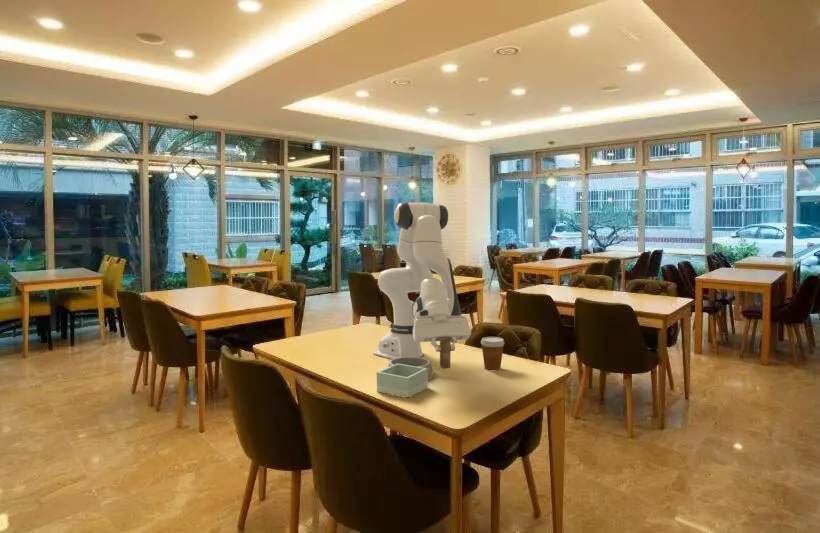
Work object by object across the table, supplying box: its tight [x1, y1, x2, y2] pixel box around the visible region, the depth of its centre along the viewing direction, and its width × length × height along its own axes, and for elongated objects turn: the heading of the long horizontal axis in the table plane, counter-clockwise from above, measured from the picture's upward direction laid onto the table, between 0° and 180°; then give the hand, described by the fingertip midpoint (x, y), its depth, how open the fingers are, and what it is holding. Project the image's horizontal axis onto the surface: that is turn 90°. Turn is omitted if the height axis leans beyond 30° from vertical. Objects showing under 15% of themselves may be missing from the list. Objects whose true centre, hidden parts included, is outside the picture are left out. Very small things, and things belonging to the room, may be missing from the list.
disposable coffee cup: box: [480, 336, 506, 371], centre depth 210 cm, size 10×10×12 cm
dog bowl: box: [387, 357, 434, 379], centre depth 205 cm, size 17×18×5 cm
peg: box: [439, 337, 452, 369], centre depth 179 cm, size 4×4×10 cm
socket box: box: [376, 363, 429, 398], centre depth 186 cm, size 13×13×7 cm
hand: (445, 350), depth 178 cm, fingers closed on peg, 4 cm apart
